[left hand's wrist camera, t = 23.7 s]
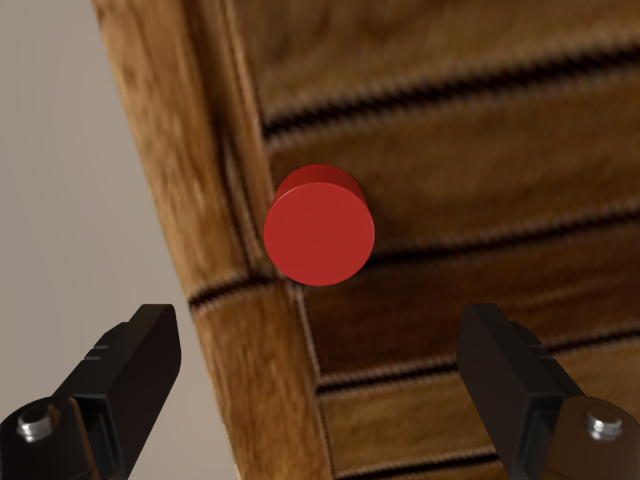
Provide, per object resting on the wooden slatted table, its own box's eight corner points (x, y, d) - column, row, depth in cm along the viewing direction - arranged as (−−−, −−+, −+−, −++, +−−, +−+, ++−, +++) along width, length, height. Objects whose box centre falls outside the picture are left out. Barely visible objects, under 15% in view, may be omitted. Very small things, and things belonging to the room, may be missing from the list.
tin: (254, 207, 22) (240, 234, 18) (321, 143, 21) (321, 158, 17) (317, 268, 24) (317, 305, 20) (384, 211, 22) (397, 239, 19)
